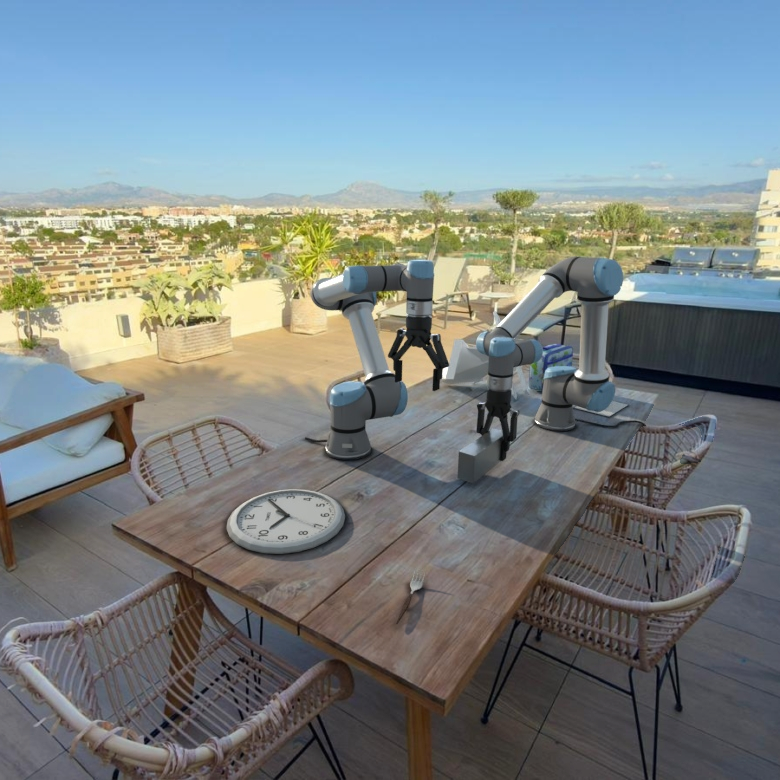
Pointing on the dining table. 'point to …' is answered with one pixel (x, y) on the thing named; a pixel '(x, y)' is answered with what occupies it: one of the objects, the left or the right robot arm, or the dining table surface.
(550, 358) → the lunch box
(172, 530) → the dining table surface
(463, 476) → the bar
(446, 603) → the dining table surface
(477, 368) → the white plastic object
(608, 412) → the invitation card
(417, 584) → the fork
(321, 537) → the wall clock
